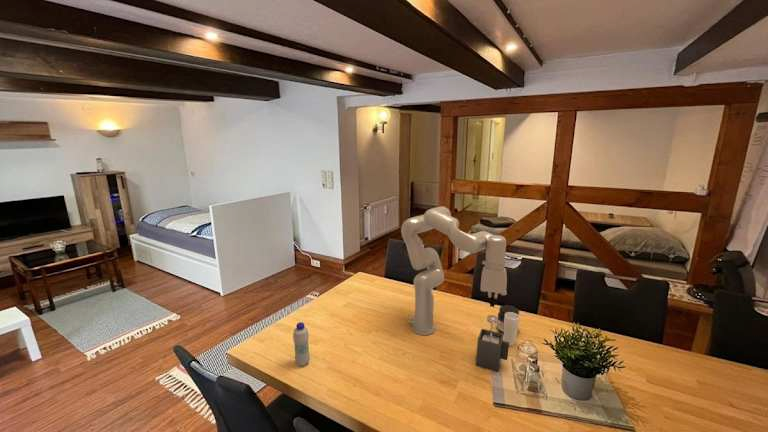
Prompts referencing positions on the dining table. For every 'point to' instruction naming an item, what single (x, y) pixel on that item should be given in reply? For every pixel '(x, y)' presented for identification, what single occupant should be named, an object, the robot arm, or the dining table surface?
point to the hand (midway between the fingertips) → (492, 305)
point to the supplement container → (501, 315)
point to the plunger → (491, 330)
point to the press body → (491, 351)
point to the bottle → (301, 344)
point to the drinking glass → (510, 327)
